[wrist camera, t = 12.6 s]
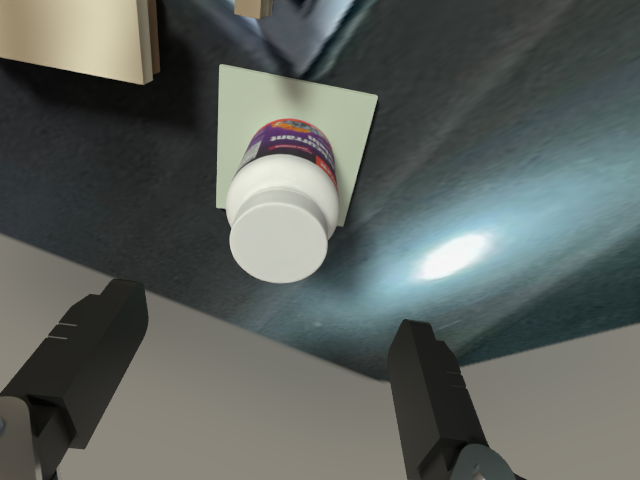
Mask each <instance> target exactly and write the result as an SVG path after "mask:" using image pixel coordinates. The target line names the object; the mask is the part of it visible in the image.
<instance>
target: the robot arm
mask: <svg viewBox="0 0 640 480" xmlns="http://www.w3.org/2000/svg"><path fill="white" fill-rule="evenodd" d="M147 326H148V310H147V303H146V296H145V289H144V285H143V283H142V282H136V281H129V280H121V279H113V280H111V281H110V283H109V284H108V285H107V286H106V288H105V289H104V290H103V292H102V293H101V294H100V295H94V294H89V295H88V296H86V297H85V298H83V299H82V300H80V301H79V302H77V303H76V304H74V305H73V306H72V307H71V308H70V309H69V310H68V311H67V313H66V314H65V315H64V316H63V317H62V319H61V320H60V321H59V324H58V325H56V326H55V327H54V329H53V330H52V331H51V332H50V333H49V335H48V338H45V339H44V341H43V342H42V343H41V344H40V346H39V347H38V348H37V349H36V351H35V352H34V353H33V354H32V356H31V357H30V358H29V359H28V360H27V361H26V363H25V364H24V365H23V367H22V368H21V369H20V370H19V371H18V373H17V374H16V375H15V376H14V377H13V379H12V380H11V381H10V382H9V384H8V385H7V386H6V387H5V388H4V389H3V391H2V392H1V393H0V480H62V478H61V472H60V466H59V464H60V462H61V460H62V459H63V457H64V455H65V453H66V451H67V450H68V448H76V449H85V448H86V446H87V444H88V442H89V440H90V438H91V436H92V435H93V433H94V431H95V429H96V427H97V425H98V423H99V421H100V419H101V417H102V415H103V414H104V412H105V410H106V408H107V406H108V404H109V402H110V400H111V399H112V397H113V395H114V393H115V391H116V389H117V387H118V385H119V383H120V382H121V380H122V378H123V376H124V374H125V372H126V370H127V368H128V367H129V364H130V363H131V361H132V359H133V357H134V355H135V353H136V351H137V349H138V347H139V346H140V344H141V342H142V340H143V338H144V336H145V333H146V330H147ZM388 372H389V377H390V383H391V389H392V394H393V400H394V406H395V412H396V417H397V423H398V429H399V434H400V440H401V446H402V451H403V457H404V463H405V468H406V474H407V479H408V480H526V479H524V478H522V477H520V476H518V475H516V474H515V473H513V471H512V470H511V468H510V467H509V465H508V464H507V463H506V461H505V460H504V459H503V458H502V457H501V456H500V455H499V454H498V453H496V452H495V451H494V450H492V449H491V448H490V447H489V445H488V443H487V441H486V438H485V436H484V433H483V430H482V428H481V425H480V422H479V419H478V417H477V414H476V411H475V409H474V406H473V403H472V401H471V398H470V395H469V392H468V390H467V389H466V385H465V382H464V379H463V376H462V375H461V371H460V368H459V365H458V363H457V360H456V357H455V355H454V354H453V353H452V352H451V350H450V349H449V348H448V346H447V345H446V344H445V342H444V341H437V340H436V339H435V336H434V333H433V330H432V327H431V325H430V324H429V323H428V322H423V321H415V320H408V319H404V320H403V321H402V323H401V325H400V327H399V330H398V332H397V334H396V336H395V338H394V340H393V342H392V344H391V347H390V349H389V353H388Z"/></svg>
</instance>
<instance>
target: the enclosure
mask: <svg viewBox="0 0 640 480" xmlns="http://www.w3.org/2000/svg"><path fill="white" fill-rule="evenodd" d="M272 5H273V0H235V13H234V14H237V15H242V16H247V17H251V18H256V19H262V18H265V17H268V16H270V15H272Z"/></svg>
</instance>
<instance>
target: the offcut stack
mask: <svg viewBox="0 0 640 480" xmlns="http://www.w3.org/2000/svg"><path fill="white" fill-rule="evenodd" d="M0 57H2V58H7V59H12V60H17V61H22V62H28V63H33V64H38V65H43V66H48V67H53V68H59V69H64V70H69V71H74V72H79V73H84V74H90V75H95V76H100V77H105V78H110V79H115V80H121V81H126V82H131V83H136V84H141V85H144V84H146V83H148V82H151V81H153V75H154V74H156V73H159V72H160V60H159V44H158V27H157V11H156V0H0Z"/></svg>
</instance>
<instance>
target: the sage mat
mask: <svg viewBox="0 0 640 480" xmlns="http://www.w3.org/2000/svg"><path fill="white" fill-rule="evenodd" d="M377 99H378V96H377V95H374V94H369V93H364V92H359V91H354V90H349V89H344V88H339V87H334V86H329V85H324V84H319V83H314V82H309V81H304V80H299V79H294V78H289V77H284V76H279V75H274V74H269V73H264V72H259V71H254V70H249V69H244V68H239V67H234V66H229V65H224V64H221V65H219V107H218V152H217V197H216V208H223V209H226V198H227V193H228V190H229V187H230V184H231V182H232V180H233V177H234V175H235V173H236V171H237V169H238V167H239V164H240V162H241V160H242V158H243V156H244V154H245V152H246V150H247V148H248V145H249V143H250V141H251V139H252V138H253V136H254V135H255V133H256V132H257V131H258V130H259V129H260V128H261V127H262V126H263V125H264V124H266V123H267V122H269V121H271V120H274V119H277V118H281V117H297V118H301V119H304V120H307V121H309V122H311V123H313V124H314V125H316V126H317V127H318V128H319V129H320V130H321V131H322V132H323V133H324V134H325V135H326V137H327V138H328V140H329V142H330V144H331V147H332V150H333V154H334V161H335V171H336V179H337V188H338V194H339V200H340V214H339V220H338V224H337V226H342V227H343V226H344V222H345V218H346V215H347V211H348V207H349V203H350V200H351V196H352V192H353V188H354V185H355V181H356V177H357V174H358V170H359V166H360V162H361V159H362V155H363V151H364V147H365V144H366V140H367V136H368V132H369V129H370V125H371V121H372V118H373V114H374V110H375V106H376V103H377Z"/></svg>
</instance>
